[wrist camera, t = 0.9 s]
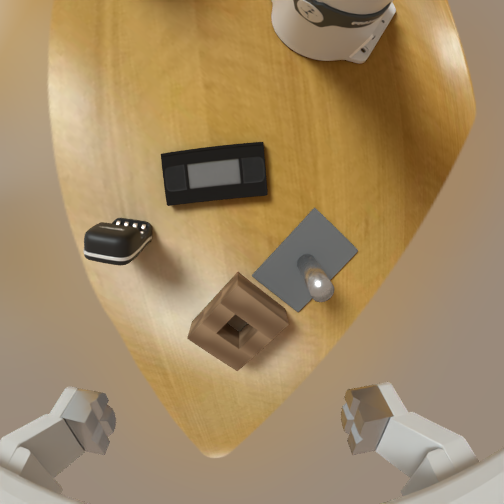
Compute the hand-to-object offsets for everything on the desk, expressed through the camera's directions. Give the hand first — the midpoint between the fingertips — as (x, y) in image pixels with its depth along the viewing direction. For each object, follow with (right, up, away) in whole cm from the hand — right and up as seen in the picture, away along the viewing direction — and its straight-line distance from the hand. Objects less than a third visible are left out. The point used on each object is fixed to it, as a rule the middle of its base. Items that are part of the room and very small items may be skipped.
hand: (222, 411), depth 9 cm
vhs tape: (-4, +17, +33) cm, 37 cm away
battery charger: (-17, +9, +35) cm, 40 cm away
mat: (+9, +4, +37) cm, 38 cm away
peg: (+9, +3, +37) cm, 38 cm away
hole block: (-1, -5, +40) cm, 40 cm away
